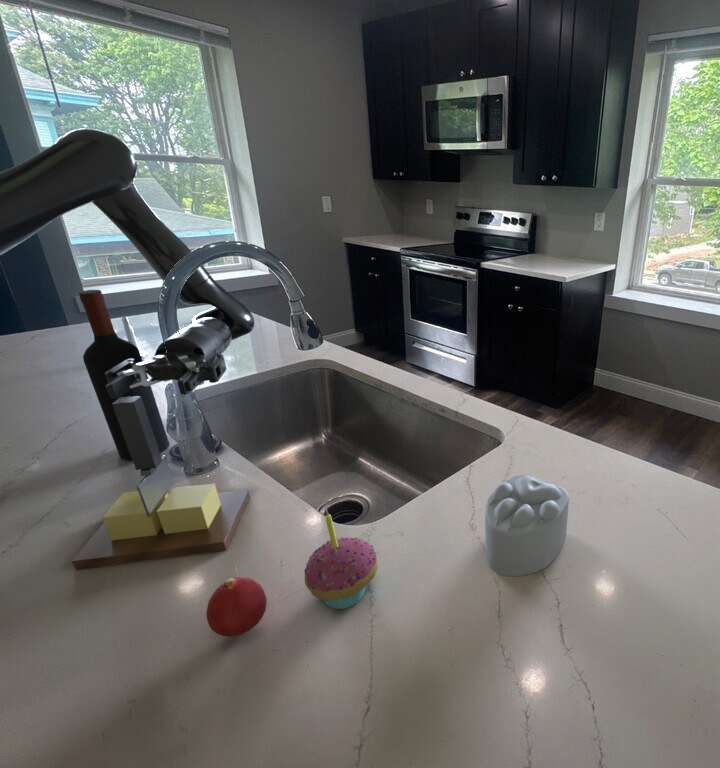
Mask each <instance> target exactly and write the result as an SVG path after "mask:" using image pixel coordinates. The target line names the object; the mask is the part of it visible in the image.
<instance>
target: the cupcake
mask: <svg viewBox="0 0 720 768" xmlns="http://www.w3.org/2000/svg"><path fill="white" fill-rule="evenodd" d="M324 512H325V514H326V515H325V516H324V518H325V523H326V526H327V531H328V534H329V535H328V536H329V538H330V540H327V541H326V542H325V543H324V544H322V545H320V546H319V547H317V548H316V549H315V550H314V551H313V552H312V554H311V555H310V556H309V557H308V560H307V562H306V563H305V564H306V565H305V569H304V584H305V587H306V588H307V589H308V590H309V591H310V593H311V594H312V596H313V597H315V598H317V599H322V600H323V601H324V603H325V604H326V605H327V606H329V607H330V608H332V609H334V610H335V609H336V610H343V609H344V610H345V609H347V608H350V607H352V606H354V605H356V604H357V603H358V602H359V601H360V600H361V599H362V597H363V596H364V595H365V590H366V586H367V584H369V582H370V581H372V580H373V579H374V578H375V576H376V574H377V572H378V569H379V568H378V567H379V561H378V558H377V552H376V551H375V548H374V546H373V544H372V545H371V544H370V543H369V542H367V541H365V540H364V539H360V538H359V537H350V536H347V537H344V536H342V537H340V538H337V536H336V530H335V527H334V523H333V519H332V515H331V514H329V511H328V509H327V508H325V511H324Z"/></svg>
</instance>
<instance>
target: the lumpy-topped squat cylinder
mask: <svg viewBox="0 0 720 768" xmlns="http://www.w3.org/2000/svg"><path fill="white" fill-rule="evenodd" d="M569 505H570V495H569V493H568V491H567V490H566V489H565V488H563V487H562V486H559V485H557V484H552V483H548V482H546V481H543V480H541V479H539V478H538V477H535V476H533V475H529V474H520V475H515V476H512V477H510V478H508V479H506V480H505V481H504V482H501V483H499V484H498V485H496V486H495V487H494V489H493V492H492V493H491V494H490V495H489V497H488V498H487V500H486V504H485V510H484V511H485V512H484V545H485V546H484V555H485V559H486V562H487V564H488V566H489V567H490V569H492V571H493V572H495V573H496V574H498V575H501V576H504V577H524V576H528V575H532V574H534V573H537V572H539V571H541V570H544V569H546V568H547V567H548V566H550V565H551V563H552V562H553V561H554V560H555V559H556V558H557V556H558V555H559V554H560V552H561V550H562V548H563V546H564V545H565V543H566V540H567V532H568V531H567V530H568V521H569V520H568V519H569V508H570V507H569Z"/></svg>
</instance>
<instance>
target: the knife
mask: <svg viewBox="0 0 720 768" xmlns="http://www.w3.org/2000/svg"><path fill="white" fill-rule="evenodd" d="M112 406H113V408H114V411H115V414H116V416H117V419H118V422H119V425H120V427H121V430H122V433H123V436H124V438H125V441H126V444H127V447H128V449H129V452H130V455H131V458H132V460H133V461H132V463H133V466H134V468H135V471H139V473H140V476H141V477H143V478H142V479H141V481H140V482H138V484H137V485H136V491H138V492H139V495H140V498H141V500H142V503H143V506H144V508H145V511H146V514H147V516H148V517H150V516H151V515H152V513H153V512H154V511H155V509H156V508H157V506H158V505H159V504H160V502H161V501H162V499H163V498H164V497H165V495H166V494H167V493H169V491H170V490H171V488H172V487H173V485H174V484H175V483H174V479H173V477H172V474H171V471H170V468H169V464H168V461H167V458H166V456H165V455H163V454H162V455H161V453H160V452H159V449H158V446H157V443H156V440H155V437H154V434H153V431H152V428H151V425H150V422H149V419H148V416H147V413H146V410H145V407H144V404H143V401H142V398H141V396H134V397H120V398H119V399H118V400H116V401H115V402H114V403H113V404H112Z"/></svg>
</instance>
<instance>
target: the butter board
mask: <svg viewBox="0 0 720 768" xmlns="http://www.w3.org/2000/svg"><path fill="white" fill-rule="evenodd" d="M217 493H218V496H219V500H220V503H221V505H220V507H219V509H218V511H217V513H216V515H215V517H214V519H213V521H212V522H211V524H210V526H209V528H208V529H202V530H194V531H186V532H178V533H169V534H165V533H164V530H163V527H162V528H161V529H160V531H159V532H158V534H157V535H153V536H145V537H136V538H128V539H120V540H111V538H110V535H109V533H108V531H107V528H106V526H105V524H104V522H102V524H101V526H99V527H98V529H97V530H96V531H95V532H94V534H92V536H91V538H89V540H88V541H87V542H86V543H85V544H84V546H83V547H82V548H81V549H80V550H79V552H78V553H77V554H76V555H75V556H74V558H73V559H72V560H71V563H72V566H73V567H74V569H75V571H77V570H84V569H85V570H86V569H93V568H94V569H95V568H100V567H107V566H115V565H116V566H117V565H123V564H131V563H139V562H147V561H153V560H161V559H162V560H163V559H169V558H177V557H184V556H185V557H186V556H193V555H200V554H207V553H215V552H216V553H217V552H221V551H223V552H224V551H227V549H228V548H229V546H230V543H231V541H232V538H233V536H234V535H235V532H236V530H237V527H238V525H239V523H240V521H241V518H242V516H243V514H244V512H245V510H246V507H247V506H248V503H249V501H250V498H251V495H250V491H249V489H244V490H234V491H225V492H224V491H223V492H217Z"/></svg>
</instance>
